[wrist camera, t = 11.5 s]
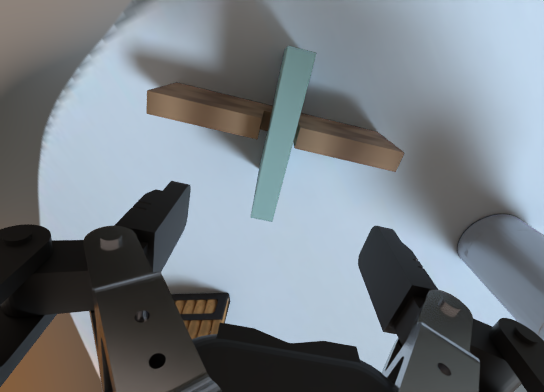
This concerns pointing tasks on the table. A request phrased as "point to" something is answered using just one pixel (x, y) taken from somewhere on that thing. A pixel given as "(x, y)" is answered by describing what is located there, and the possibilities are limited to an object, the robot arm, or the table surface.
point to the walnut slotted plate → (254, 116)
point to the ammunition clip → (202, 312)
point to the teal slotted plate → (282, 129)
